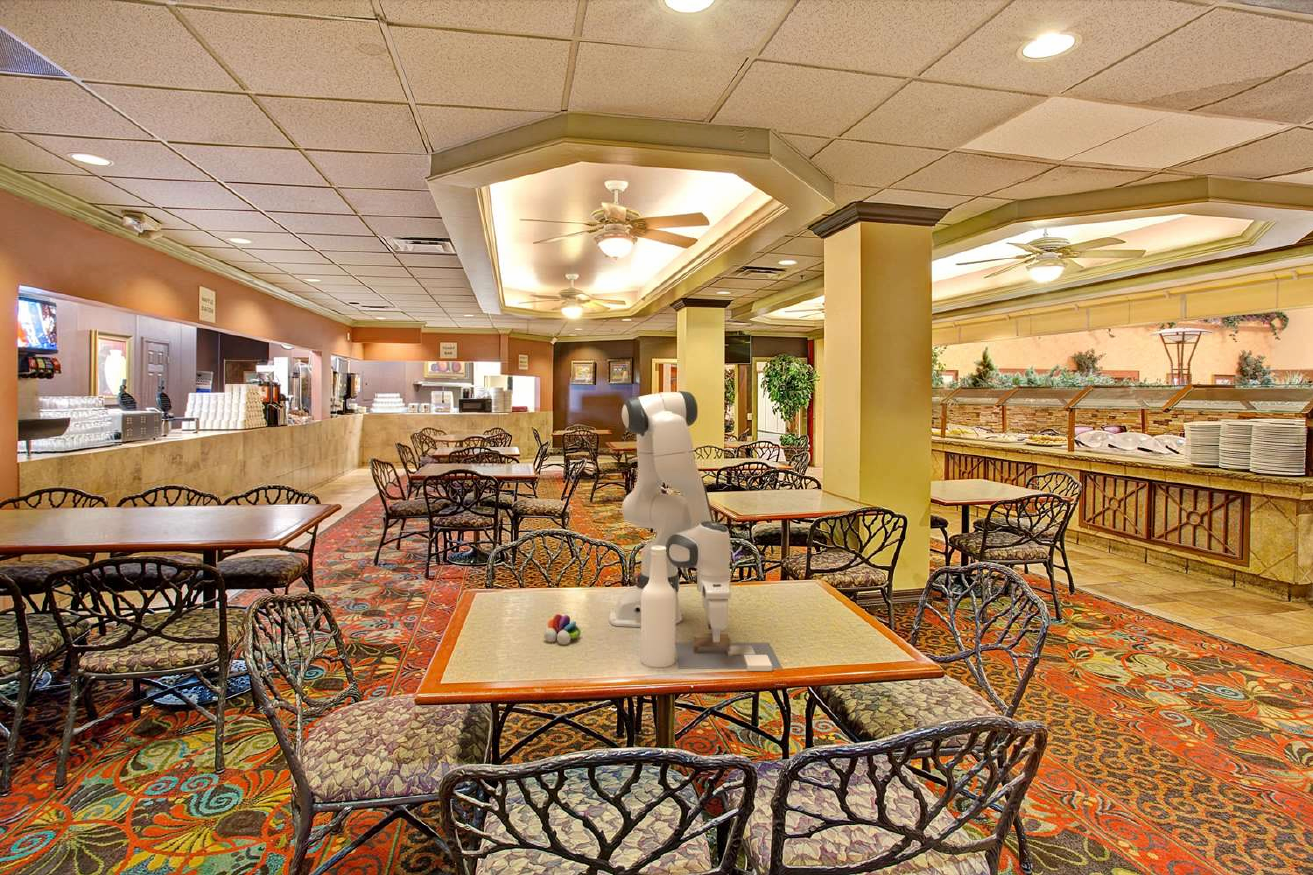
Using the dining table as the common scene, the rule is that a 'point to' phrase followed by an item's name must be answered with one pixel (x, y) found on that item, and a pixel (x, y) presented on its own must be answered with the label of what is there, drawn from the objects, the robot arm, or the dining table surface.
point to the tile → (757, 663)
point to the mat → (720, 656)
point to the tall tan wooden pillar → (721, 645)
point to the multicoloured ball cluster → (562, 630)
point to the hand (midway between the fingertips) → (713, 634)
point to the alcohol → (658, 614)
